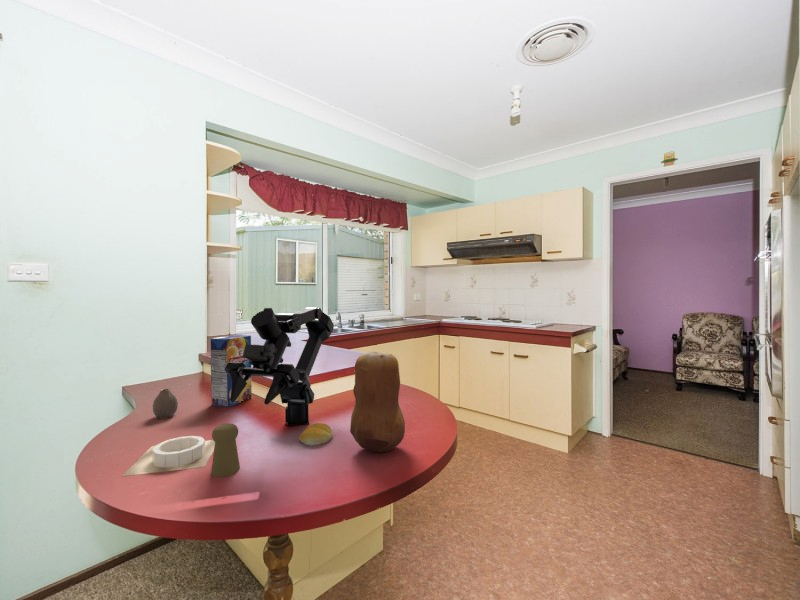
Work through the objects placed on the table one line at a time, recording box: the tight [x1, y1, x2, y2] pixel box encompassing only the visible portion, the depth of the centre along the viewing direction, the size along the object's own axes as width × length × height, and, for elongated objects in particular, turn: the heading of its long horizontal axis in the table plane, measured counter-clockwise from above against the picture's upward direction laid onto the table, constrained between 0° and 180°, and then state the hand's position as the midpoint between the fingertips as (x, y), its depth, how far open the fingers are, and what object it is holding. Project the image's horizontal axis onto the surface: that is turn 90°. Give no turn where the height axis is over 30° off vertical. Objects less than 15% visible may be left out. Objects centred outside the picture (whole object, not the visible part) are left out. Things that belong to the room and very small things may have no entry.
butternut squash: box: [349, 351, 406, 454], centre depth 93 cm, size 14×13×25 cm
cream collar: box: [152, 435, 206, 468], centre depth 87 cm, size 10×10×3 cm
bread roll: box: [299, 422, 333, 446], centre depth 100 cm, size 8×9×4 cm
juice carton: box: [210, 334, 253, 408], centre depth 135 cm, size 12×8×24 cm, turn 161°
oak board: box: [122, 439, 215, 477], centre depth 88 cm, size 16×16×1 cm
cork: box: [210, 423, 241, 478], centre depth 80 cm, size 6×6×11 cm
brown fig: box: [152, 388, 179, 419], centre depth 119 cm, size 7×7×9 cm
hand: (248, 402), depth 88 cm, fingers open, 9 cm apart
